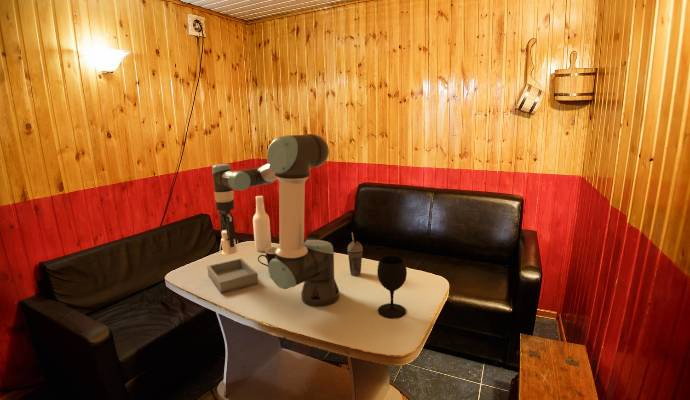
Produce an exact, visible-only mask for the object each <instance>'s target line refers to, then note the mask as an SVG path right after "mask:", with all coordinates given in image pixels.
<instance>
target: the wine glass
mask: <svg viewBox="0 0 690 400" xmlns="http://www.w3.org/2000/svg"><path fill="white" fill-rule="evenodd" d="M376 270H377V279H378V281H379V283H380V284H381V286H383V288H384V289H385V290H387V291H389V294H390V296H389V297H390V302H389V303H384V304H382V305H379V306H378V309H377V312H378V315H380V316H381V317H383V318H387V319H400V318H402V317H404V316H405V315H406V314H407V309H406V308H405V307H404V305H401V304H398V303H394V295H395V294H394V293H395V292H396V291H398V290H400V288H402V286H403V285H404V284H405V283H406V279H407V275H408V273H407V271H408V270H407V265H406V261H405V259H404V258H403V257H401V256H400V255H399V256H398V255H385V256H382V257H380V259H379V261H378V264H377V269H376Z"/></svg>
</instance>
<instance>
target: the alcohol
mask: <svg viewBox="0 0 690 400" xmlns="http://www.w3.org/2000/svg"><path fill="white" fill-rule="evenodd" d="M255 207H256V208H255V213H254V215H253V217H252V226H253V238H254V249H255V250H256V251H257V252H260V253H266V252H265V251H266V250H267V249H270V248H272V237H271V225H270V224H271V223H270V222H271V221H270V216H269V214H268V213H267V212H266V210H265V204H264V196H263V195H256V196H255Z"/></svg>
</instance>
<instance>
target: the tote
mask: <svg viewBox="0 0 690 400" xmlns="http://www.w3.org/2000/svg"><path fill="white" fill-rule="evenodd" d="M206 268H207V275H208V278H209V279H210V280H211V282H212V283H213V285H214V286H215V287H216V289H217V290H218V292H219V293H220V294H221V295H222V294H226V293H229V292H234V291H237V290H240V289H244V288H247V287H248V288H249V287H251V286H255V285H258V284H259V278H258V277H259V276H258V272H257V271H256V270H255V269H254V268H252V266H250V265H249V264H248V263H247V262H246V261H245V260H244V259H243V258H241V257H240V258H236V259H232V260H228V261H224V262H223V261H222V262H219V263H214V264H211V265H206Z"/></svg>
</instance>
